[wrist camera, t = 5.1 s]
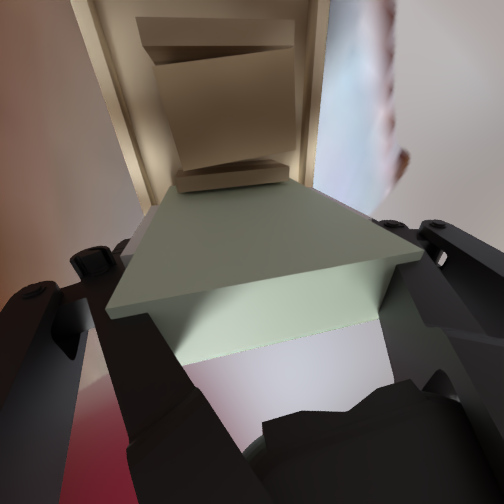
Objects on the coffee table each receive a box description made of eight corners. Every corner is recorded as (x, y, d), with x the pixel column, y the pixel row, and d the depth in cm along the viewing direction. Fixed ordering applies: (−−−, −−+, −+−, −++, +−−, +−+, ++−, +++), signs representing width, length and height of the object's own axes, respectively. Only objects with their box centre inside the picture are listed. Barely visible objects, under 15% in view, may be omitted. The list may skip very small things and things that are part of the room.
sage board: (169, 186, 17) (104, 309, 5) (283, 174, 19) (424, 250, 7) (178, 221, 19) (144, 374, 7) (282, 208, 20) (395, 315, 9)
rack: (298, 219, 23) (332, 249, 17) (160, 239, 21) (145, 281, 15) (318, -76, 13) (416, -248, 7) (51, -102, 11) (-130, -387, 5)
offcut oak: (163, 82, 12) (151, 66, 9) (272, 66, 13) (293, 47, 10) (186, 163, 14) (183, 171, 11) (277, 146, 15) (296, 150, 12)
